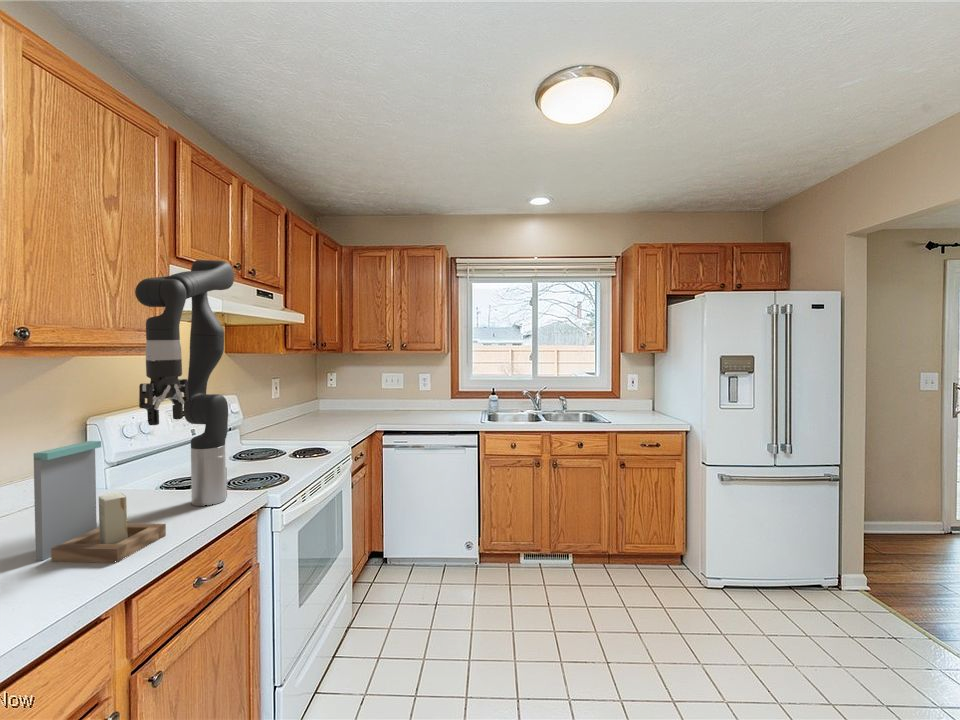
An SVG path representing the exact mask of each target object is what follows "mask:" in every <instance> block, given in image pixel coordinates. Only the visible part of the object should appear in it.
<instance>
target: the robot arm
mask: <svg viewBox="0 0 960 720" xmlns="http://www.w3.org/2000/svg"><path fill="white" fill-rule="evenodd" d="M234 281H235V271H234V269H233V267H232V265H231V264H230V263H229V262H227V261H224V260H213V259H196V260H195V261H193V263H192V265H191V269H190V270H187V271H181V272H177V273H174V274H170V275H167V276H158V277H157V276H155V277H147V278H144V279H142V280H140V281H138V283H137V285H136V287H135V289H134V293H135V297H136V299H137V301H138V302H139V303H140V304H141V305H143V306H144V307H148V308H164V310H163V312H162V313H161V314H160V315H156V316H152V317H148V318H147V319H146V322H145V339H146V343H145V351H144V352H145V372H146V373H145V374H146V375H145V376H146V378H149V379H150V380H149V381H150V382H149V383H148V382H146V383H140V384H139V387H138V388H139V390H138V391H139V395H138V396H139V397H138V398H139V399H138V400H139V401H138V402H139V404H138V407H139V408H140V409H145V410H146V412H147V425H148V426H157V425H159V424H160V415H159V413H160V410H159V407H160V405H161V404H162V403H163V402H164V401H165V400H166V399H168V400H170V402H171V403H172V405H171V406H172V418H173V420H181V419H183V416H184V418H185V420H186V422H188V424H191V425H204V432H202V433H201V434H200V435H196V436H193V437H191V440H190V471H191V473H190V474H191V475H190V477H191V479H190V480H191V489H190V490H191V505H192V506H195V507H206V506H205V505H207V506H213V505H216V504H220V503H222V502H225V501H226V499H227V497H228V476H227V475H228V473H227V467H226V465H227V464H226V439H227V435H228V426H229V425H228V423H229V422H228V421H229V406H228V405H229V403H228V401H227V399H226V397H224V395H222V394H207V390H208V389H207V388H208V387H207V386H208V382H209V379H210V376H211V375H212V373H213V371H214V369H215V368H216V366H217V365H218V364H219V362H220V360H221V359H222V357H223V355H224V350H225V331H224V328H223V326H222V324H221V322H220V321H219V319H218V318H217V316H216V315H215V313H214V312H213V310H212V309H211V306H210V303H209V299H208V292H211V291H223V290H224V291H225V290H228V289H230V288H231V287H233V284H234ZM187 299H191V321H190V332H189V333H190V334H189V335H190V336H189V361H188V371H187V372H188V375H187V378H179V377H181V376H183V366H182V365H183V363H182V361H183V359H182V346H181V341H180V340H181V338H180V336H181V335H180V324H181V320H182V316H183V315H182V314H183V310H184V307H185V305H186V300H187ZM182 393H183V394H182ZM212 504H213V505H212Z"/></svg>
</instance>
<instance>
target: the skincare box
mask: <svg viewBox="0 0 960 720" xmlns="http://www.w3.org/2000/svg"><path fill="white" fill-rule="evenodd" d="M127 505H128V504H127V496H126V495H125V494H123V493H121V492H116V493H110V494H103V495H99V496H98V517H99V519H98V521H99V522H98V525H99V527H100V544H117V543H119V542H121V541H123V540H125V539H127V524H128V512H127Z"/></svg>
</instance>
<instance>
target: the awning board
mask: <svg viewBox="0 0 960 720" xmlns="http://www.w3.org/2000/svg"><path fill="white" fill-rule="evenodd" d="M98 448H102V440H87V441H83V442H78V443H74V444H73V443H72V444H70V445H65V446H61V447H60V446H59V447H56V448H51V449H46V450H41V451H37V452H33V487H34V488H33V491H34V493H33V494H34V495H33V496H34V528H35V529H34V532H35V533H34V534H35V535H34V536H35V538H34V539H35V561H36V562H37V561H38V562H42V561H45V560H49V559H50V558H51V548H53V547H55V546H58V545H60V544H62V543H65V542H67V541H69V540H71V539H74V538H76V537H78V536H80V535H83V534H85V533H87V532H89V531H92V530H94V529H96V528H98V527H97V524H98V523H97V522H98V521H97V486H96V485H97V483H96V481H97V480H96V479H97V478H96V477H97V475H96V449H98Z"/></svg>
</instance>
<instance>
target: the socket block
mask: <svg viewBox="0 0 960 720" xmlns="http://www.w3.org/2000/svg"><path fill="white" fill-rule="evenodd" d="M166 525H167V524H166V523H127V539H125V540H123V541H121V542H119V543H117V544H100V527H97V528H96V529H94V530H92V531H89V532H87V533H85V534H83V535H80V536H78V537H76V538H74V539H71V540H69V541H67V542H65V543H62V544H60V545H58V546H55V547H53V548H51V557H50V558H51V563H115V561H116V562H118V561H119V562H121V561H123V560H124V559H123V558H125V557H127V556H128V557H130V556H132V555H133V553H134V552H136V551H137V552H139V551H141V550H143V549H144V548H146V547H148V546H149V544H150V545H151V543H152V544H153V543H155V542H157V541H159V540H161V539H162V538H164V537H166V536H165V535H167V529H166V527H167V526H166ZM160 538H161V539H160ZM158 539H159V540H158ZM156 540H157V541H156ZM147 545H148V546H147ZM145 546H146V547H145ZM142 548H143V549H142ZM140 549H141V550H140ZM138 550H139V551H138ZM137 552H136V553H137ZM131 554H132V555H131ZM134 554H135V553H134ZM129 555H130V556H129ZM128 557H127V558H128ZM122 559H123V560H122ZM125 559H126V558H125ZM120 560H121V561H120ZM119 562H118V563H119Z"/></svg>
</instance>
